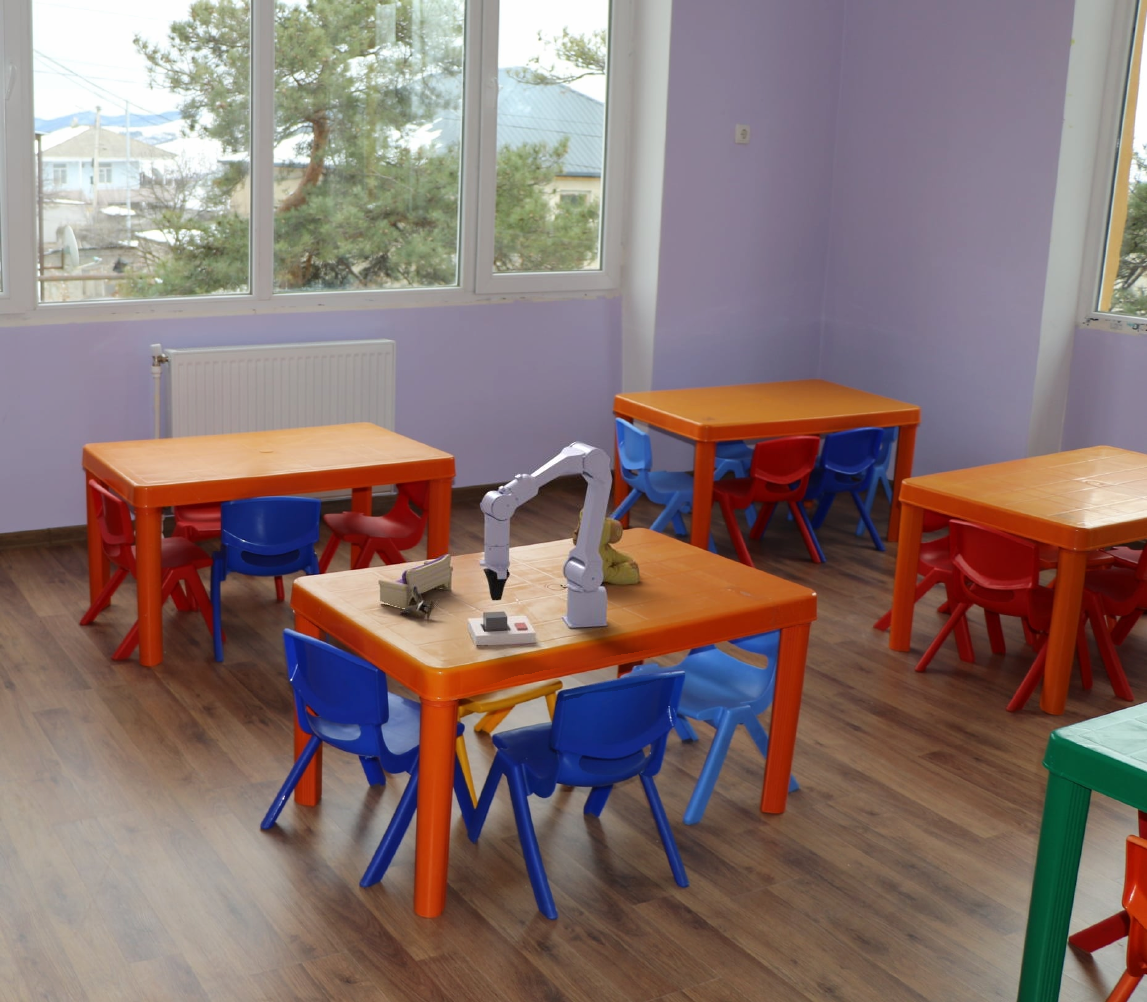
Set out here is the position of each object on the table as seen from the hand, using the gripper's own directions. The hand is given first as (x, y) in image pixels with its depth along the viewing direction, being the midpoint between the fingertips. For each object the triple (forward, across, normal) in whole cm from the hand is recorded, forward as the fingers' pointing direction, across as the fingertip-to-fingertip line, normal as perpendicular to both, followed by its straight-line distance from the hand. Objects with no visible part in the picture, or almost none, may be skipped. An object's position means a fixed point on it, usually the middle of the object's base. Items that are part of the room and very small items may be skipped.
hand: (496, 599), depth 297 cm
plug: (+9, 0, 0) cm, 9 cm away
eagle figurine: (+10, -18, -16) cm, 26 cm away
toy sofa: (+10, -32, -15) cm, 37 cm away
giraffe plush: (+10, -40, +36) cm, 55 cm away
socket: (+9, -1, +2) cm, 10 cm away
